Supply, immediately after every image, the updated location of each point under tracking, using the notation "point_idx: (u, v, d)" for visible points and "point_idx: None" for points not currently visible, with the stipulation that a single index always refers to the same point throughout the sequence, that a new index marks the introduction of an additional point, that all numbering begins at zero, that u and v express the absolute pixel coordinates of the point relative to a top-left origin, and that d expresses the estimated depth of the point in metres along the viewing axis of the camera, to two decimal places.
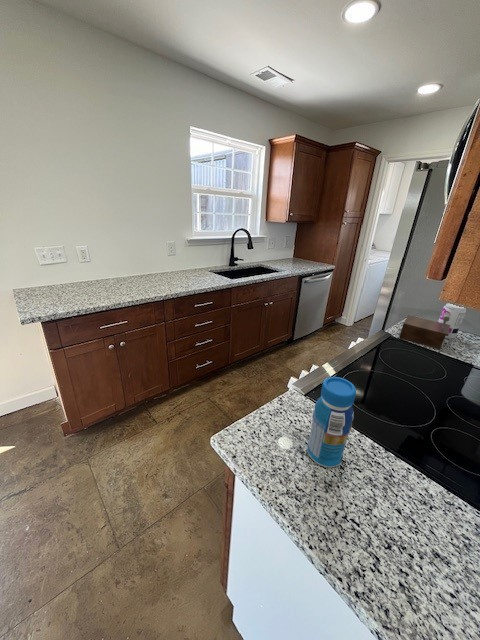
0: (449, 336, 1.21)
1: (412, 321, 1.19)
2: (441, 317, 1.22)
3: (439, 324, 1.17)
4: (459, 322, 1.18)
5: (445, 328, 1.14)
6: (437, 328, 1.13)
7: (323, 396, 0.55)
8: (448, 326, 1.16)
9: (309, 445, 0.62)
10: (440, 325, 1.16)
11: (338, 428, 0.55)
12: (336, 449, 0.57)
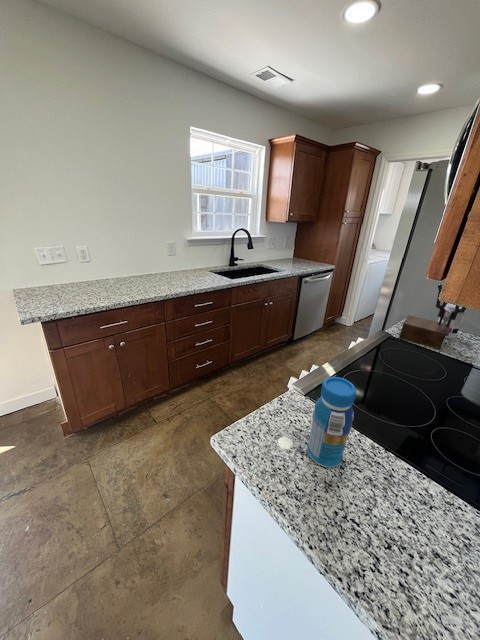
0: (449, 336, 1.21)
1: (412, 321, 1.19)
2: None
3: None
4: (459, 322, 1.18)
5: (445, 328, 1.14)
6: (437, 328, 1.13)
7: (323, 396, 0.55)
8: None
9: (309, 445, 0.62)
10: (440, 325, 1.16)
11: (338, 428, 0.55)
12: (336, 449, 0.57)
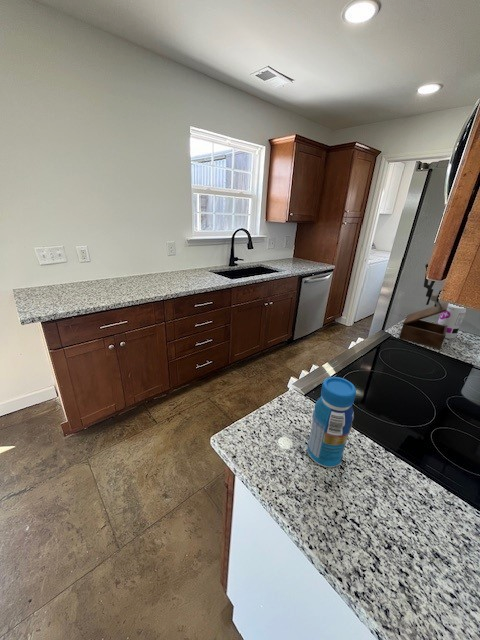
0: (449, 336, 1.21)
1: (411, 317, 1.19)
2: (441, 317, 1.22)
3: (437, 306, 1.16)
4: (459, 322, 1.18)
5: (442, 306, 1.12)
6: (435, 310, 1.12)
7: (323, 396, 0.55)
8: (445, 303, 1.14)
9: (309, 445, 0.62)
10: None
11: (338, 428, 0.55)
12: (336, 449, 0.57)
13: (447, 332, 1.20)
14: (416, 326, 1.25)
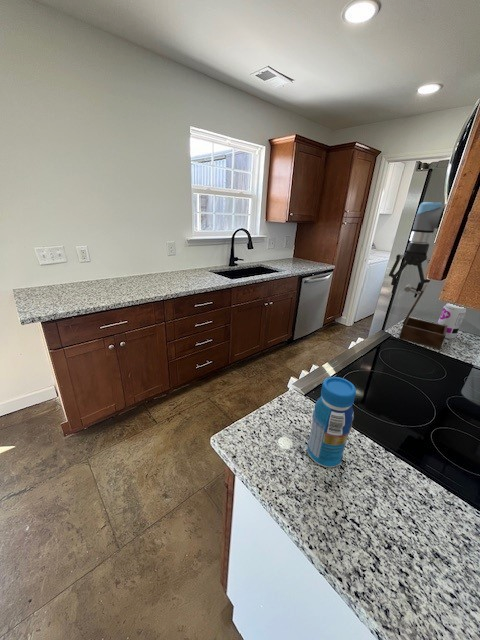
0: (449, 336, 1.21)
1: None
2: (441, 317, 1.22)
3: None
4: (459, 322, 1.18)
5: None
6: None
7: (323, 396, 0.55)
8: (424, 286, 1.17)
9: (309, 445, 0.62)
10: None
11: (338, 428, 0.55)
12: (336, 449, 0.57)
13: (447, 332, 1.20)
14: (416, 326, 1.25)
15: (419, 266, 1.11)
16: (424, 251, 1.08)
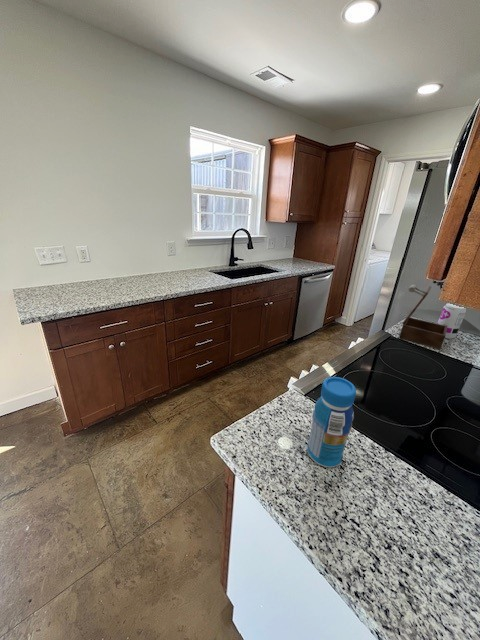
0: (449, 336, 1.21)
1: (408, 315, 1.20)
2: (441, 317, 1.22)
3: None
4: (459, 322, 1.18)
5: (426, 291, 1.14)
6: (421, 298, 1.14)
7: (323, 396, 0.55)
8: (428, 288, 1.16)
9: (309, 445, 0.62)
10: (423, 294, 1.17)
11: (338, 428, 0.55)
12: (336, 449, 0.57)
13: (447, 332, 1.20)
14: (416, 326, 1.25)
15: None
16: None
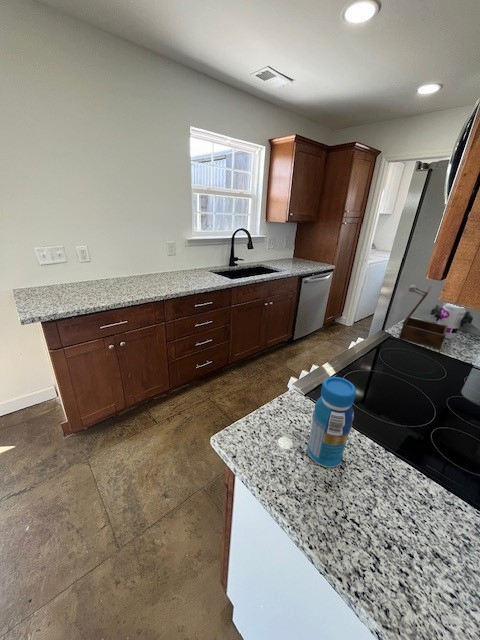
0: (448, 336, 1.21)
1: (408, 315, 1.20)
2: (440, 317, 1.22)
3: None
4: (458, 322, 1.18)
5: (426, 291, 1.14)
6: (421, 298, 1.14)
7: (323, 396, 0.55)
8: (428, 288, 1.16)
9: (309, 445, 0.62)
10: (423, 294, 1.17)
11: (338, 428, 0.55)
12: (336, 449, 0.57)
13: (446, 332, 1.20)
14: (416, 326, 1.25)
15: None
16: None
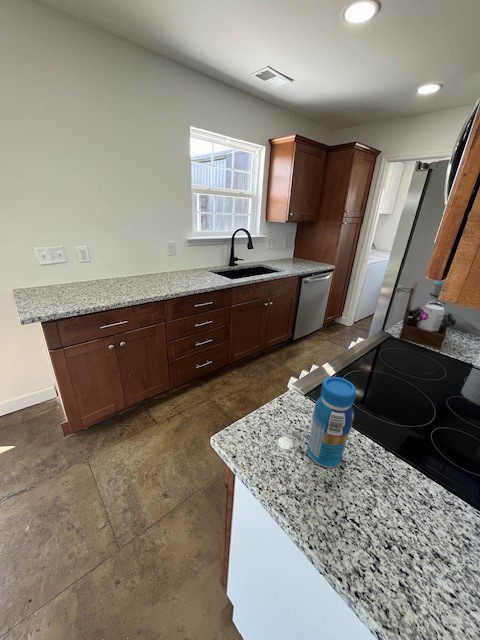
0: None
1: None
2: (419, 319, 1.17)
3: None
4: (437, 324, 1.13)
5: None
6: None
7: (323, 396, 0.55)
8: None
9: (309, 445, 0.62)
10: None
11: (338, 428, 0.55)
12: (336, 449, 0.57)
13: None
14: None
15: None
16: None
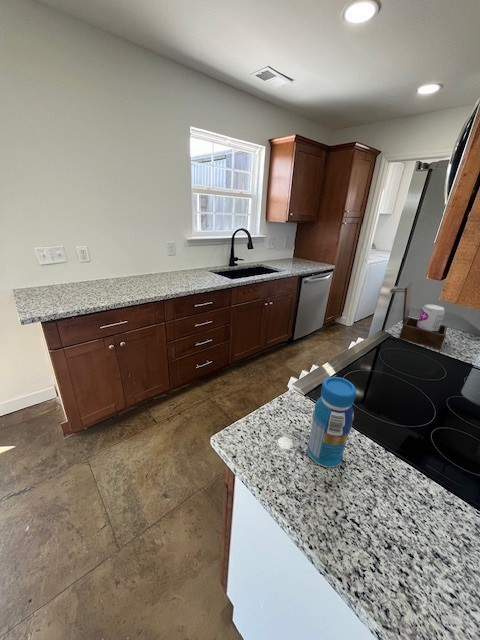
0: None
1: None
2: (419, 319, 1.17)
3: None
4: (437, 324, 1.13)
5: None
6: None
7: (323, 396, 0.55)
8: (408, 284, 1.20)
9: (309, 445, 0.62)
10: None
11: (338, 428, 0.55)
12: (336, 449, 0.57)
13: None
14: None
15: None
16: None
